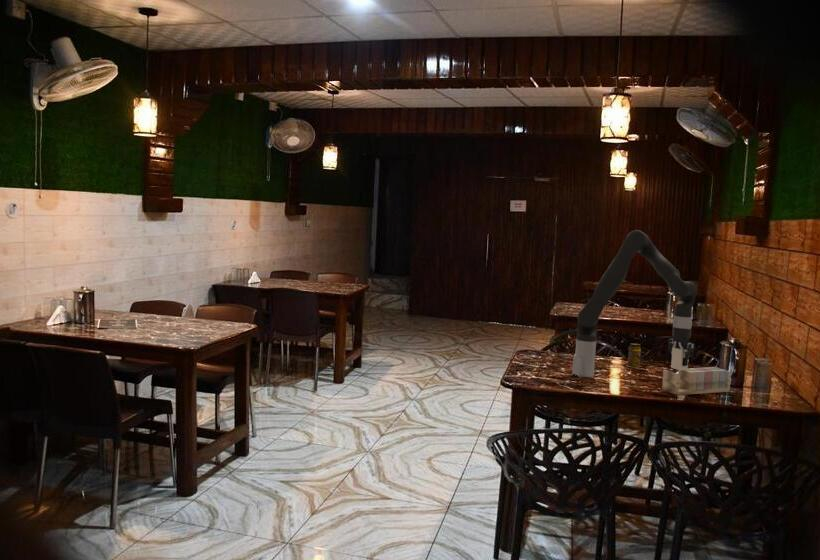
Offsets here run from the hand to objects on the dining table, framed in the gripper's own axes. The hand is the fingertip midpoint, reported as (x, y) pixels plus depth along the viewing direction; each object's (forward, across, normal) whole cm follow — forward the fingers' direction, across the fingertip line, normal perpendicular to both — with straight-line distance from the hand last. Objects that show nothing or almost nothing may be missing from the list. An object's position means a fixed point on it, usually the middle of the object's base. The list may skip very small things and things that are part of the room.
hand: (679, 364), depth 287 cm
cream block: (+2, 0, 0) cm, 2 cm away
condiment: (+13, -50, +16) cm, 54 cm away
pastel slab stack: (+12, 0, +10) cm, 16 cm away
